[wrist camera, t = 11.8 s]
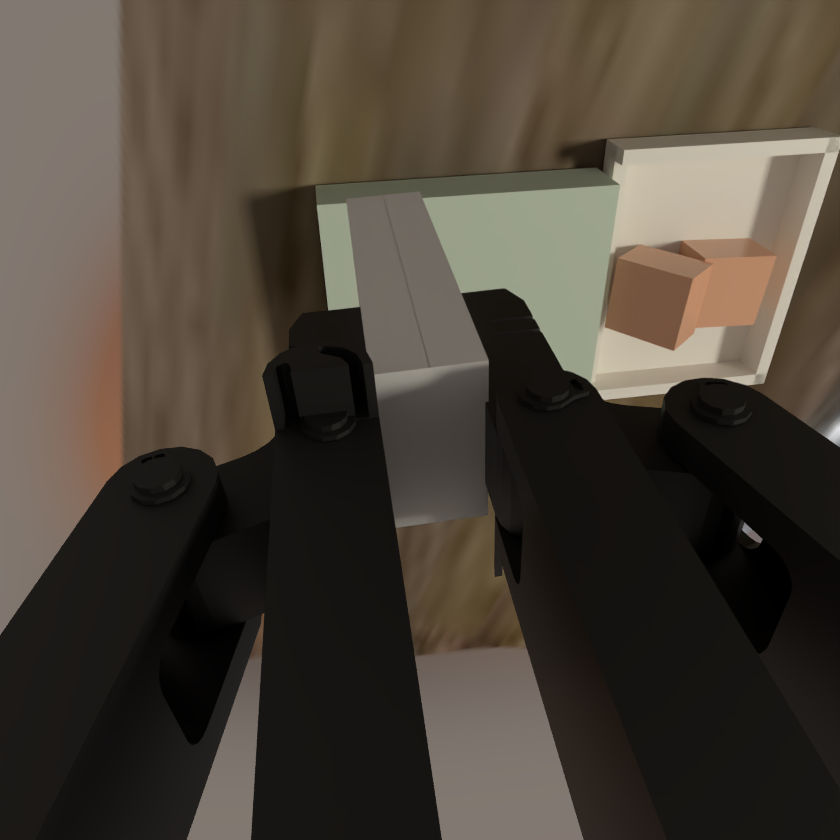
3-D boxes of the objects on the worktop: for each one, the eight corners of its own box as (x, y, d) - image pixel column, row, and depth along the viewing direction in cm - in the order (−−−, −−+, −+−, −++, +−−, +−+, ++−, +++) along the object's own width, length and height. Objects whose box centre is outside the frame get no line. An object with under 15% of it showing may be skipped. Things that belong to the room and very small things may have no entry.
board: (315, 185, 37) (316, 205, 34) (596, 167, 38) (620, 184, 36) (337, 386, 44) (340, 416, 41) (571, 363, 46) (589, 391, 43)
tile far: (777, 255, 39) (749, 238, 42) (705, 258, 39) (681, 240, 41) (753, 324, 42) (728, 304, 44) (686, 328, 41) (664, 307, 44)
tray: (606, 139, 38) (624, 150, 36) (815, 126, 39) (843, 136, 37) (574, 381, 47) (587, 401, 45) (744, 365, 48) (763, 383, 46)
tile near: (640, 244, 41) (617, 257, 39) (713, 263, 39) (693, 278, 37) (626, 311, 44) (604, 327, 42) (694, 333, 41) (673, 351, 39)
